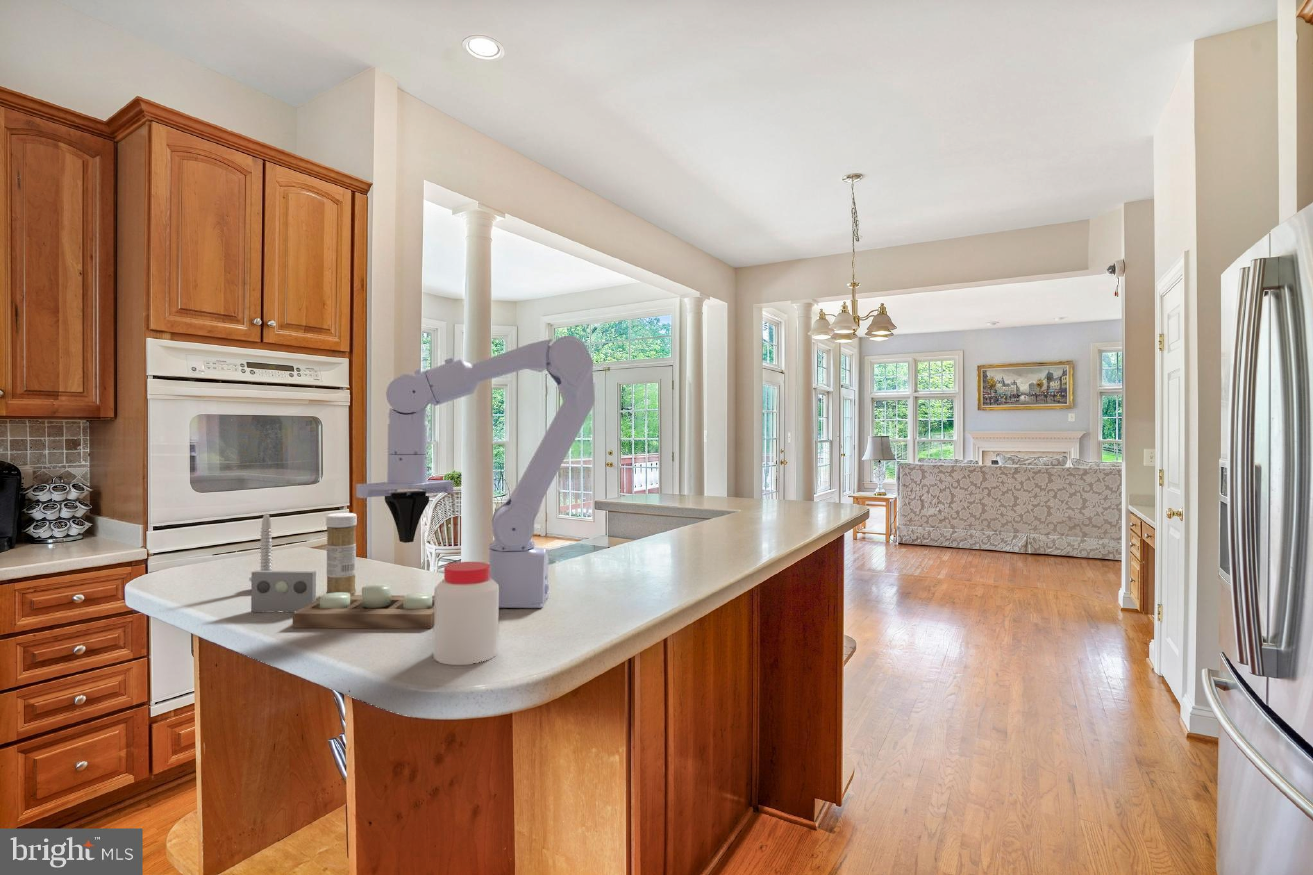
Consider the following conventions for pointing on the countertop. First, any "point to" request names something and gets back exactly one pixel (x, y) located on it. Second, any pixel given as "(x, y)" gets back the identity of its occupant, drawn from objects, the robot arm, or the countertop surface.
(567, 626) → the countertop surface
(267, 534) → the screw
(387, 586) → the button mid
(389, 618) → the wooden compartment tray
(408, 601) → the button
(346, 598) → the button
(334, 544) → the sprinkles bottle
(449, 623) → the pill bottle
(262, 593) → the card
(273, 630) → the countertop surface
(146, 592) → the countertop surface
